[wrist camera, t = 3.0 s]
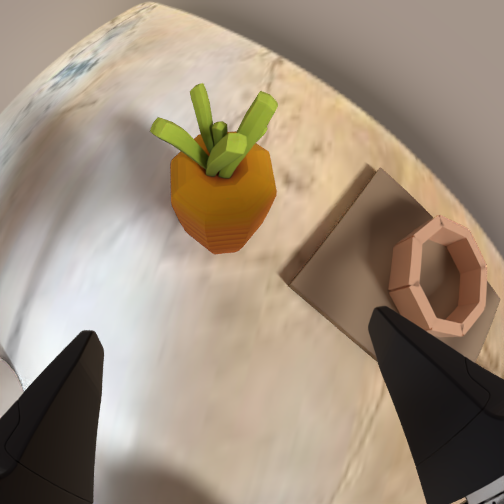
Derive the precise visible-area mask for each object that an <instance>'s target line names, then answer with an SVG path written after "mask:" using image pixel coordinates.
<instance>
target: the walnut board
mask: <svg viewBox="0 0 504 504" xmlns="http://www.w3.org/2000/svg"><path fill="white" fill-rule="evenodd" d="M431 219H433V217H432V216H431V215H430V214H429V213H428V212H427V211H426V210H425V209H424V208H423V207H422V206H421V205H420V204H419V203H418V202H417V201H416V200H415V199H414V198H413V197H412V196H411V195H410V194H409V193H408V192H407V191H406V190H405V189H404V188H403V187H402V186H400V185H399V184H398V183H397V182H396V181H395V180H394V179H393V178H392V177H391V176H390V175H388V174H387V173H386V172H385V171H384V170H383V169H382V168H379V170H378V171H377V172H376V173H375V174H374V176H373V177H372V178H371V180H370V181H369V183H368V184H367V185H366V187H365V188H364V189H363V191H362V192H361V193H360V195H359V196H358V197H357V199H356V200H355V201H354V203H353V204H352V205H351V207H350V208H349V209H348V211H347V212H346V213H345V215H344V216H343V217H342V219H341V220H340V221H339V223H338V224H337V225H336V226H335V228H334V229H333V230H332V232H331V233H330V234H329V235H328V237H327V238H326V239H325V241H324V242H323V243H322V244H321V246H320V247H319V248H318V249H317V251H316V252H315V253H314V255H313V256H312V257H311V258H310V260H309V261H308V262H307V263H306V265H305V266H304V267H303V268H302V269H301V271H300V272H299V273H298V274H297V276H296V277H295V278H294V279H293V281H292V282H291V283H290V284H289V285H288V286H289V287H290V288H291V289H292V290H294V291H295V292H296V293H297V294H298V295H299V296H301V297H302V298H303V299H304V300H305V301H306V302H308V303H309V304H310V305H311V306H312V307H313V308H315V309H316V310H317V311H318V312H319V313H320V314H322V315H323V316H324V317H325V318H326V319H328V320H329V321H330V322H331V323H332V324H333V325H335V326H336V327H337V328H338V329H339V330H340V331H342V332H343V333H344V334H345V335H346V336H348V337H349V338H350V339H351V340H352V341H353V342H355V343H356V344H357V345H358V346H359V347H360V348H362V349H363V350H364V351H365V352H366V353H367V354H369V355H370V356H371V357H372V358H373V359H375V360H376V361H377V358H376V355H375V351H374V348H373V345H372V341H371V338H370V335H369V331H368V324H369V321H370V318H371V315H372V312H373V309H374V308H375V307H379V306H388V307H389V308H391V309H392V310H394V311H396V312H397V313H399V311H398V309H397V307H396V305H395V304H394V302H393V300H392V298H391V296H390V294H389V292H390V290H388V288H389V280H390V273H391V264H392V255H393V247H395V246H394V245H395V244H397V243H398V242H399V241H401V240H402V239H403V238H405V237H406V236H407V235H409V234H410V233H411V232H413V231H414V230H415V229H416V228H418V227H419V226H421V225H422V224H424V223H426V222H428V221H429V220H431ZM419 284H420V286H421V288H422V290H423V292H424V293H425V295H426V297H427V299H428V301H429V303H430V305H431V308H432V310H433V312H434V314H435V316H436V318H439V319H443V320H446V318H447V317H448V316H449V315H450V314H451V313H452V312H453V311H454V310H455V309H456V308H457V306H458V300H459V287H460V273H459V270H458V268H457V266H456V264H455V262H454V260H453V258H452V256H451V255H450V253H449V251H448V249H447V247H446V246H444V245H441V244H439V243H436V242H434V241H431V240H429V239H428V240H427V241H426V242H424V243H423V244H422V259H421V271H420V282H419ZM499 302H500V298H499V297H498V295H497V294H496V292H495V291H494V290H493V288H492V287H491V285H490V284H489V283H488V281H487V290H486V306H485V307H484V309H485V310H484V311H483V312H482V314H481V315H480V316H479V318H478V319H477V320H476V321H475V323H474V324H473V325H472V326H471V328H470V329H469V330H468V331H467V333H466V334H465V335H464V336H462V337H436V336H435V337H436V338H438V339H439V340H441V341H442V342H444V343H446V344H447V345H449V346H450V347H452V348H453V349H455V350H456V351H458V352H459V353H461V354H462V355H464V357H467V358H468V359H470V360H471V361H473V362H474V363H475V362H476V360H477V358H478V355H479V353H480V351H481V349H482V346H483V344H484V342H485V339H486V337H487V334H488V332H489V329H490V327H491V324H492V322H493V319H494V316H495V313H496V311H497V308H498V305H499ZM399 314H400V313H399Z"/></svg>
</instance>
